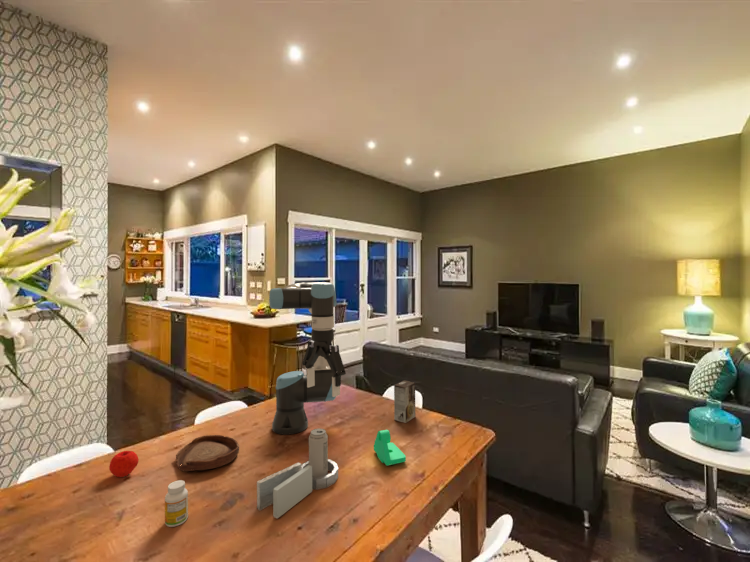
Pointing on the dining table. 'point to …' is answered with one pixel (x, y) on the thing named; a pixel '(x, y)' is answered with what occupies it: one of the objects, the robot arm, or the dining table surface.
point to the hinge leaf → (292, 491)
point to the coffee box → (404, 401)
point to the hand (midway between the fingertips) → (323, 391)
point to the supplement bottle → (176, 504)
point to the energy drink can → (318, 452)
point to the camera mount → (387, 449)
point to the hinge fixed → (272, 481)
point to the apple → (123, 463)
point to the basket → (207, 453)
